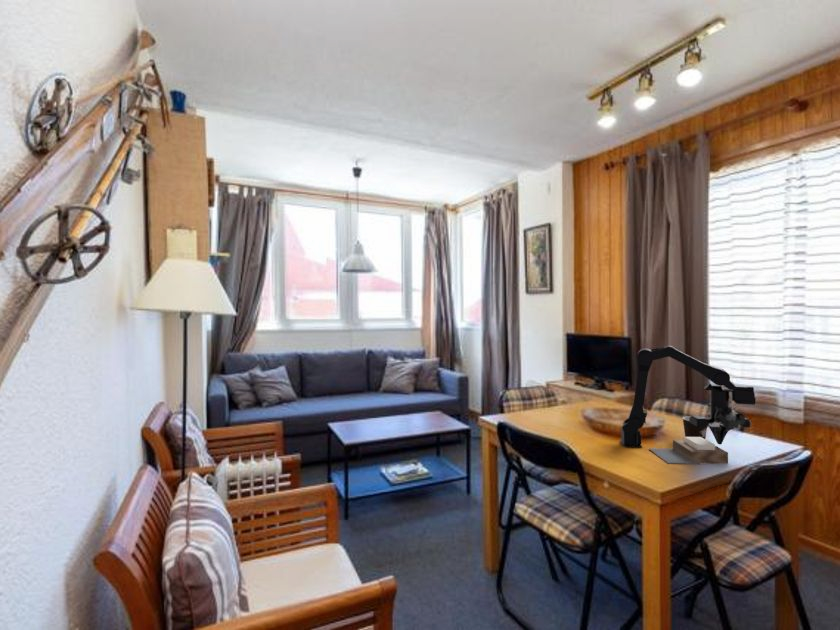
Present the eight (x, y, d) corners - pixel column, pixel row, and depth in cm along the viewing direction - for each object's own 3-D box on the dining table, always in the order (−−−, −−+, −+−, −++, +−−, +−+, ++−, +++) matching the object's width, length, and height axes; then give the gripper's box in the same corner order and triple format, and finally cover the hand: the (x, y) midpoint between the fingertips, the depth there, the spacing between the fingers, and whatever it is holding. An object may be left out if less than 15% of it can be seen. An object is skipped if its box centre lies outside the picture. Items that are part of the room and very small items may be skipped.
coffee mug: (690, 447, 168) (690, 422, 167) (678, 440, 176) (678, 416, 176) (720, 447, 167) (720, 422, 167) (706, 440, 176) (706, 416, 176)
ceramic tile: (697, 449, 153) (697, 444, 153) (684, 441, 162) (684, 436, 162) (714, 450, 153) (714, 444, 153) (700, 442, 162) (700, 436, 162)
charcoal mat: (667, 463, 151) (667, 462, 151) (649, 449, 166) (649, 448, 166) (700, 464, 150) (700, 463, 150) (678, 449, 165) (678, 448, 165)
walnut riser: (692, 463, 151) (692, 452, 151) (672, 449, 165) (672, 439, 165) (728, 463, 150) (728, 452, 150) (705, 450, 164) (705, 440, 164)
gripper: (705, 407, 149) (705, 451, 150) (761, 408, 148) (761, 452, 148) (688, 400, 160) (688, 441, 161) (740, 400, 159) (740, 441, 159)
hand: (719, 444), depth 157 cm, fingers closed
